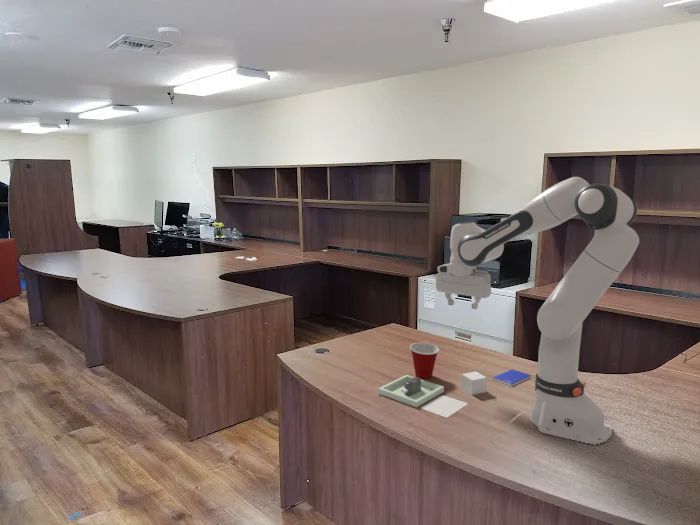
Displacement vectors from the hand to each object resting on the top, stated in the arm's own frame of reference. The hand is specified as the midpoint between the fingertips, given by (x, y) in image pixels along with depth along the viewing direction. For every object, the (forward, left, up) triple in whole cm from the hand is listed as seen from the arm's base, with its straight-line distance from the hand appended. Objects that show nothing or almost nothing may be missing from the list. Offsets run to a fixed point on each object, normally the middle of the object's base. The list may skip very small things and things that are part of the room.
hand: (462, 306), depth 176 cm
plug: (+8, +19, -28) cm, 34 cm away
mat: (-6, +21, -28) cm, 36 cm away
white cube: (-7, +4, -29) cm, 30 cm away
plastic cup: (+13, +5, -29) cm, 32 cm away
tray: (+8, +20, -28) cm, 35 cm away
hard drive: (-12, -16, -29) cm, 35 cm away
